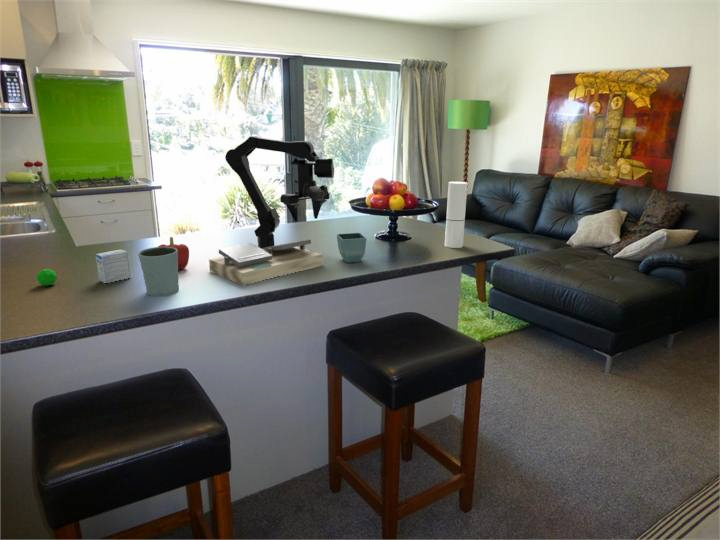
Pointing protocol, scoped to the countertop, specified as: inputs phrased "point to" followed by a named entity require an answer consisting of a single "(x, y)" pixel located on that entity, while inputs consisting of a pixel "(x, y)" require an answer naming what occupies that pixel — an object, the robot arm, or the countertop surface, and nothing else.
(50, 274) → the polyhedron
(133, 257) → the countertop surface
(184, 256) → the vegetable
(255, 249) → the rocker left
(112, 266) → the medicine box
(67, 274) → the countertop surface
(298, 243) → the rocker right
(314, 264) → the switch unit
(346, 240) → the flower pot
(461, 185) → the white tall block
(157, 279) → the grey-green cup
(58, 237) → the countertop surface
